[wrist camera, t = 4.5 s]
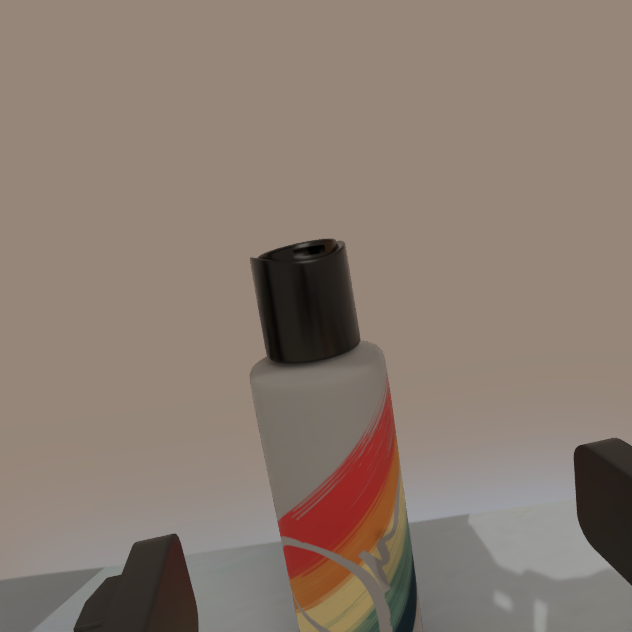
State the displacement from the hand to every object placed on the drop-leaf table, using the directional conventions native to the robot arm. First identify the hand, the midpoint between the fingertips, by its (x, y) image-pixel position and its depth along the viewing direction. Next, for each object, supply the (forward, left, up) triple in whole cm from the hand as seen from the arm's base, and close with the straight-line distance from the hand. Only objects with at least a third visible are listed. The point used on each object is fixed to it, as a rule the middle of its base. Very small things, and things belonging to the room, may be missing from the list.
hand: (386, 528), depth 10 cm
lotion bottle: (+2, +11, -15) cm, 19 cm away
